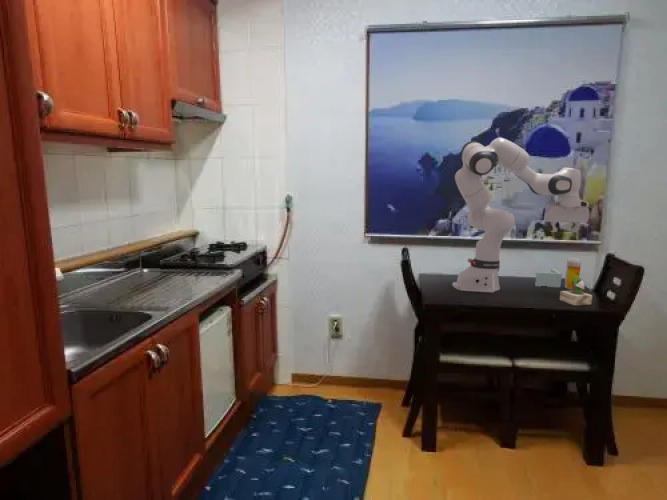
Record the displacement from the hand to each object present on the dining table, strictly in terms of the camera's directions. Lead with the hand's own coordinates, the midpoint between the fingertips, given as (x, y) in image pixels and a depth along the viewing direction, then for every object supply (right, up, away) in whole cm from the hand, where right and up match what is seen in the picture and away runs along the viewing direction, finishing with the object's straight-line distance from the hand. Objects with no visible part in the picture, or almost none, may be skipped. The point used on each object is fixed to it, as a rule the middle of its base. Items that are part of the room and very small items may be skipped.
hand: (564, 231), depth 226 cm
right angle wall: (-1, -27, +20) cm, 34 cm away
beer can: (+9, -28, +12) cm, 32 cm away
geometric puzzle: (0, -28, -12) cm, 30 cm away
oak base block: (-1, -32, -13) cm, 35 cm away
